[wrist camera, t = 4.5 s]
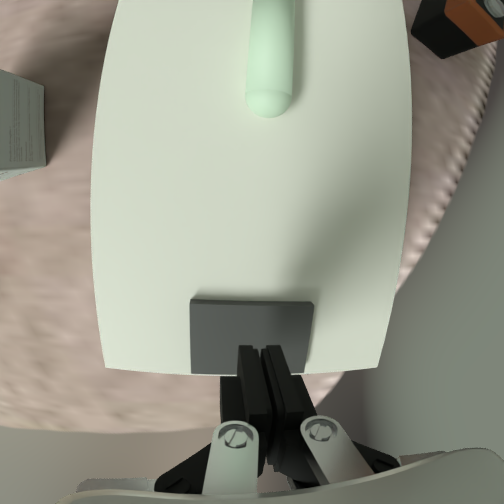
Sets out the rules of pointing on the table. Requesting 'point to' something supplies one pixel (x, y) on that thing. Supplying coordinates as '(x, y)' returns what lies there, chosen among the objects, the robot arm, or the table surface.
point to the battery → (458, 24)
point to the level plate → (250, 182)
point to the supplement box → (21, 126)
